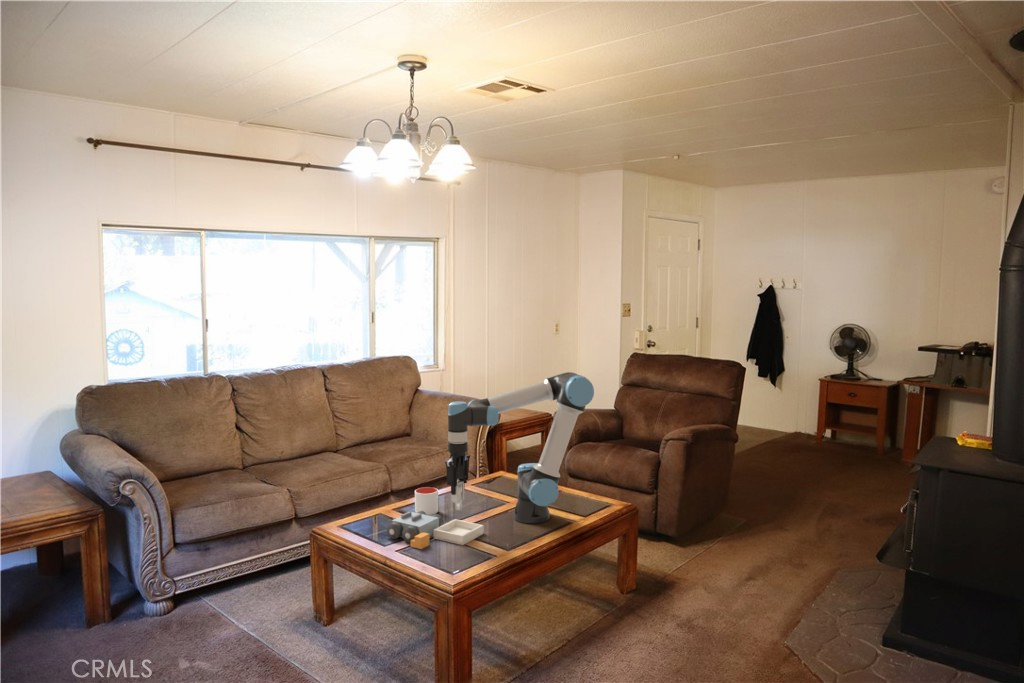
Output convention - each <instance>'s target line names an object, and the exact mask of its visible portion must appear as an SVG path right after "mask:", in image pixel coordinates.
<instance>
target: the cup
mask: <svg viewBox="0 0 1024 683" xmlns="http://www.w3.org/2000/svg"><path fill="white" fill-rule="evenodd" d="M414 511H415V513H416V512H419V511H424V512H425V513H426V514H427V515H429V516H433V515H435V514H437V513H438V512H439V489H438V488H435V487H431V486H428V487H427V486H426V487H419V488H417V489H415V490H414Z"/></svg>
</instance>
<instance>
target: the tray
mask: <svg viewBox="0 0 1024 683" xmlns="http://www.w3.org/2000/svg"><path fill="white" fill-rule="evenodd" d="M484 527H485V526H484V524H479V523H475V522H471V521H465V520H461V519H457V518H454V519H452V520H449V521H448V522H446V523H444V525H442V526H440V527H438V528H436V529H434V535H433V539H436V540H440V541H445V542H448V543H453V544H457V545H462V546H464V545H466V544H467V543H469V542H471V541H473V540H475V539H476V538H479V537H480V536H483V535H484V532H485V530H484Z"/></svg>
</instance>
